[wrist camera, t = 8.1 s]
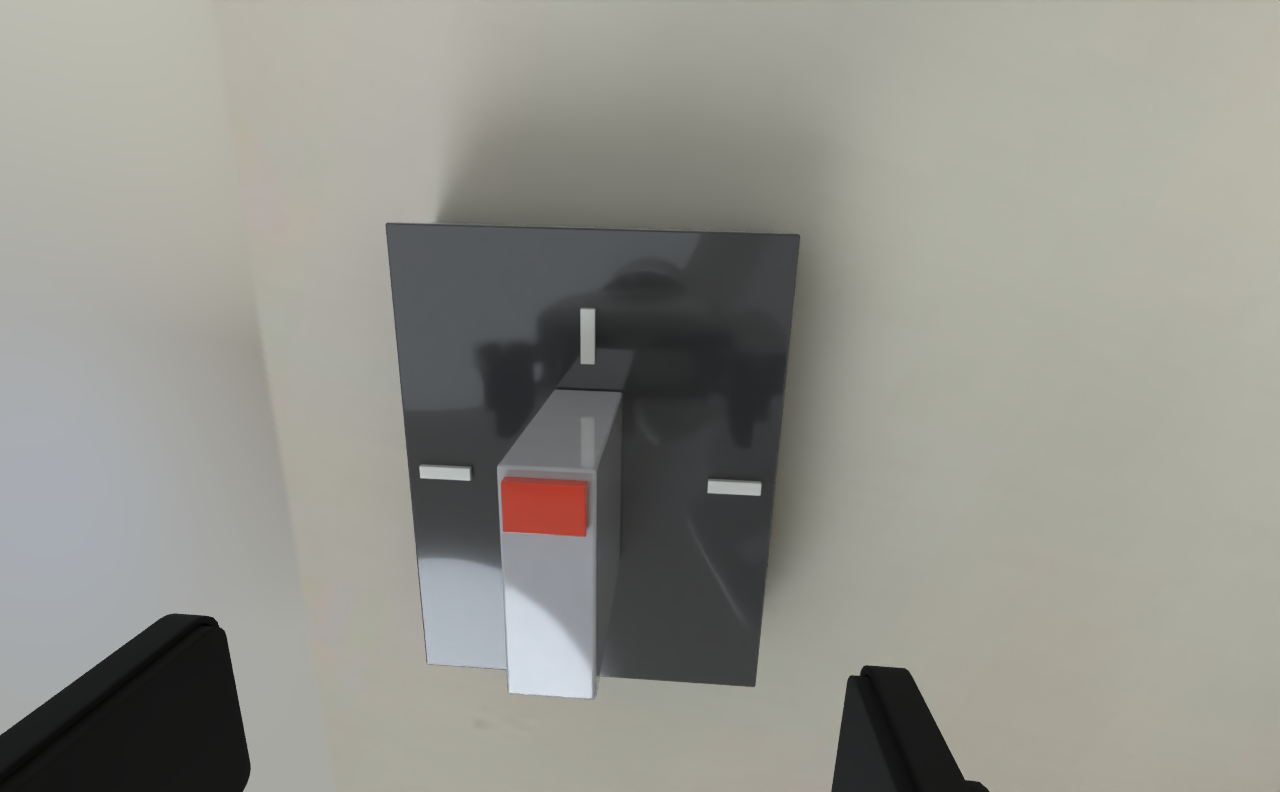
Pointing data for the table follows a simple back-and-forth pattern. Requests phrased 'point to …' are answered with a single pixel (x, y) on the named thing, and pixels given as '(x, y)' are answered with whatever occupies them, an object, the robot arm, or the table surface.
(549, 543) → the hob knob
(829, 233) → the table surface
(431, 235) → the panel
